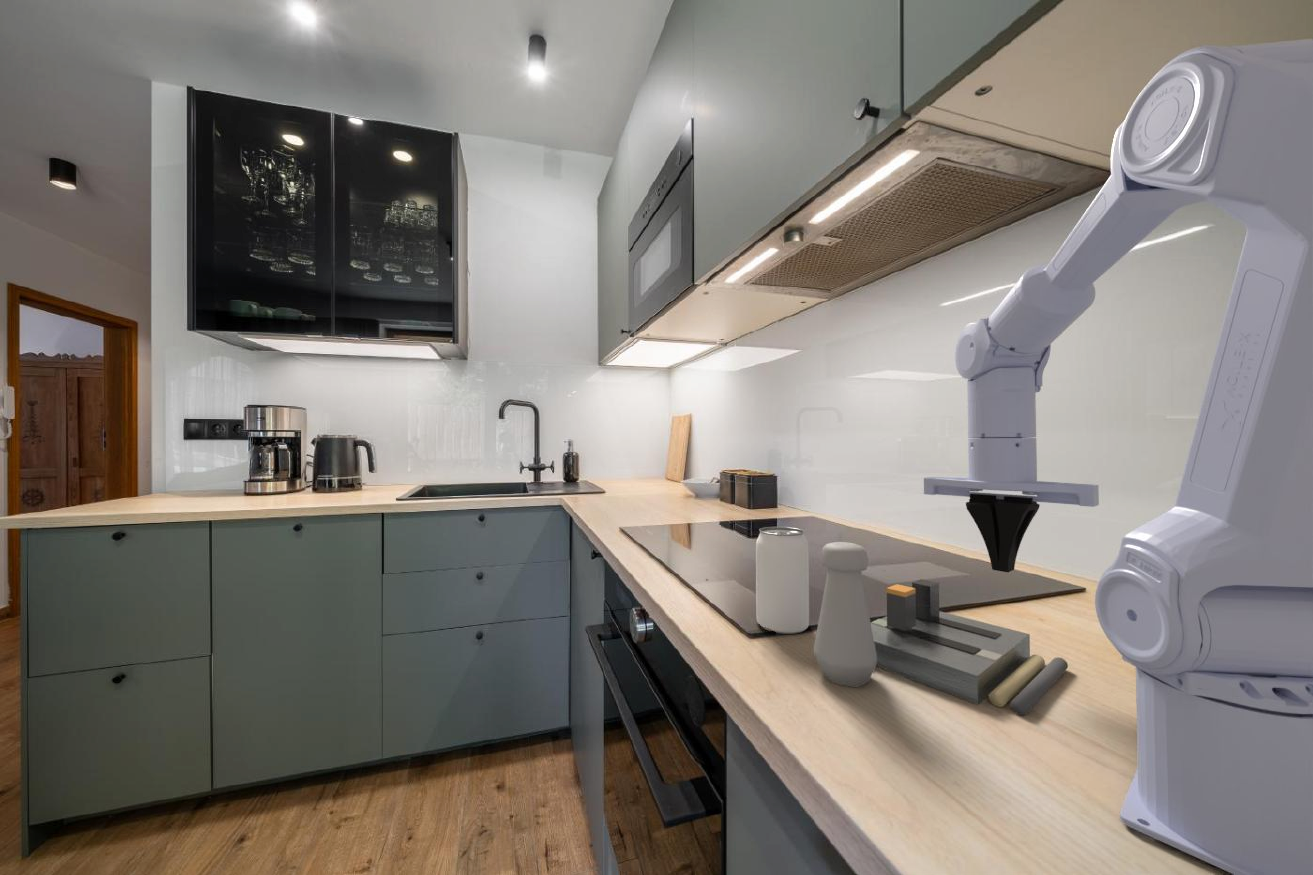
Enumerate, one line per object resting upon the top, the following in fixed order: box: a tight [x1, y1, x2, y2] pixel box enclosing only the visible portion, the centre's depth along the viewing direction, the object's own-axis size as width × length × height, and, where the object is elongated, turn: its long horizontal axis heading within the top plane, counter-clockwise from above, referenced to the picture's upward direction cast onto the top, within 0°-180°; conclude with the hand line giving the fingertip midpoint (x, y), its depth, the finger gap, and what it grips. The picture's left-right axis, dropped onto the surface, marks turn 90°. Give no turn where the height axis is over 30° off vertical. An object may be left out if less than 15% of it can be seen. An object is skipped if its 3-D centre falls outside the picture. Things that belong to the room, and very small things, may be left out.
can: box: [755, 526, 810, 635], centre depth 59 cm, size 6×6×12 cm
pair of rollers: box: [988, 654, 1069, 716], centre depth 44 cm, size 3×14×1 cm, turn 128°
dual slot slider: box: [870, 578, 1031, 705], centre depth 50 cm, size 12×15×7 cm
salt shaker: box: [813, 541, 877, 688], centre depth 46 cm, size 6×6×13 cm
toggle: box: [886, 583, 916, 631], centre depth 52 cm, size 2×2×4 cm
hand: (1003, 569), depth 48 cm, fingers closed
